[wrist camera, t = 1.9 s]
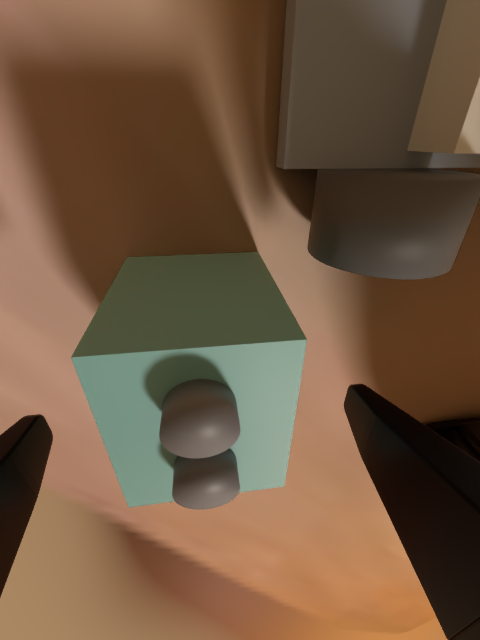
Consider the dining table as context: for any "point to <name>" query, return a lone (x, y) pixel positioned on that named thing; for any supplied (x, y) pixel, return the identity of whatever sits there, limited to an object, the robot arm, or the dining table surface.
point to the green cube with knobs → (193, 378)
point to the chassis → (384, 129)
